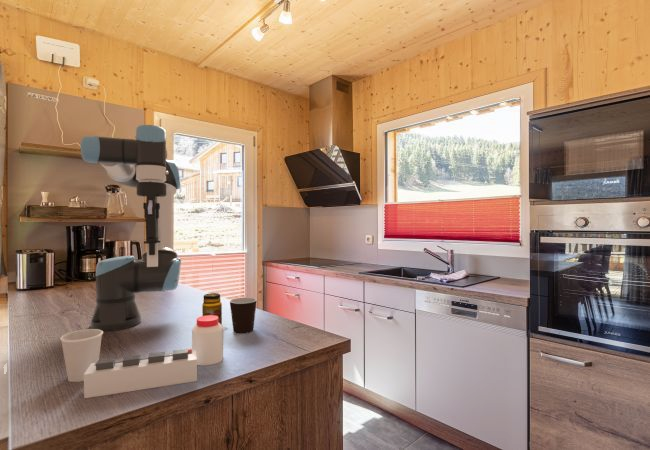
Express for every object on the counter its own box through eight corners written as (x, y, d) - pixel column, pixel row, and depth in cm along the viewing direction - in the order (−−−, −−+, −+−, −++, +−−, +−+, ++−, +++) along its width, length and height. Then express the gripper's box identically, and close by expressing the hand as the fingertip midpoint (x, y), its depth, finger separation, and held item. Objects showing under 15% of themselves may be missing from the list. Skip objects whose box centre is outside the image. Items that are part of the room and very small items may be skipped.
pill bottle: (229, 357, 96) (229, 316, 95) (205, 368, 89) (205, 324, 89) (210, 351, 100) (209, 312, 99) (185, 361, 93) (185, 319, 93)
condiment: (214, 335, 114) (214, 297, 113) (192, 332, 116) (191, 295, 116) (227, 328, 121) (227, 292, 120) (206, 325, 123) (205, 291, 123)
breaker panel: (91, 385, 80) (90, 357, 80) (196, 370, 88) (196, 344, 87) (84, 398, 74) (83, 367, 74) (197, 380, 82) (196, 353, 82)
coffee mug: (250, 335, 113) (250, 304, 113) (225, 333, 115) (225, 302, 114) (264, 324, 124) (263, 296, 124) (240, 323, 126) (240, 294, 126)
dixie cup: (83, 386, 79) (83, 341, 79) (51, 383, 81) (50, 339, 81) (112, 370, 88) (111, 329, 87) (82, 367, 89) (81, 327, 89)
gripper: (165, 180, 95) (165, 268, 96) (167, 184, 108) (168, 263, 108) (133, 179, 93) (134, 270, 93) (139, 183, 105) (140, 264, 105)
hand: (152, 266), depth 101 cm, fingers closed
